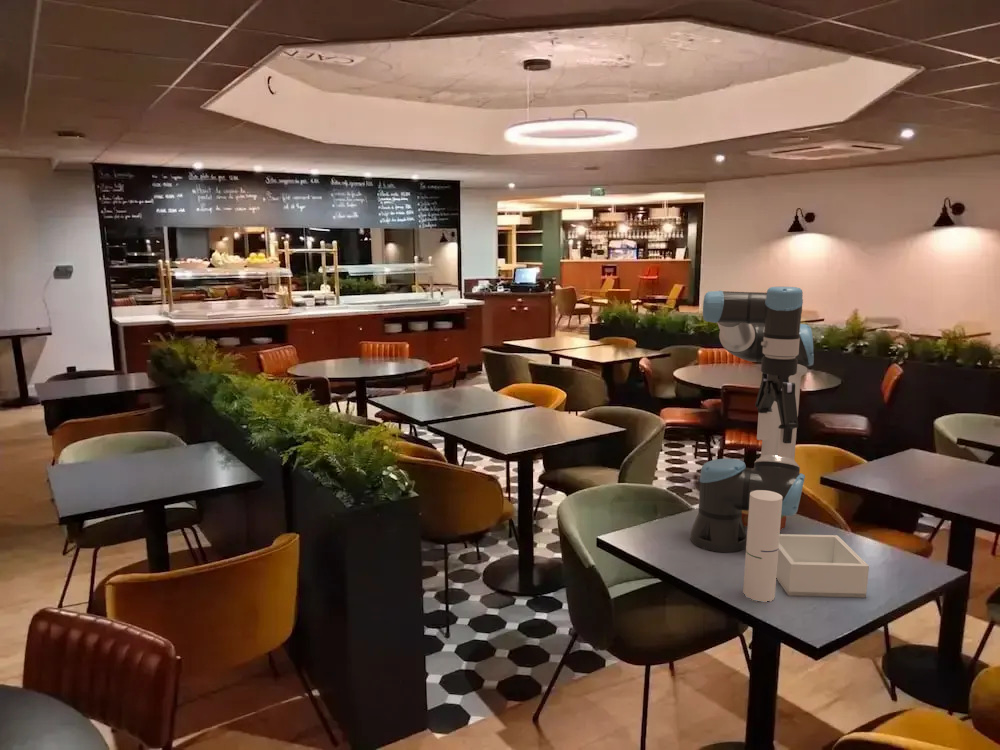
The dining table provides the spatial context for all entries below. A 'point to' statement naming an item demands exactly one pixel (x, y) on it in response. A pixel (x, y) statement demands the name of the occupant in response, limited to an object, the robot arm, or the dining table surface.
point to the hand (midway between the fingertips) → (773, 447)
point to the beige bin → (820, 567)
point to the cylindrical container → (762, 545)
